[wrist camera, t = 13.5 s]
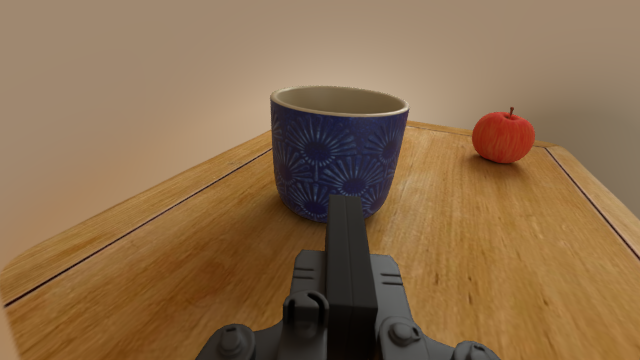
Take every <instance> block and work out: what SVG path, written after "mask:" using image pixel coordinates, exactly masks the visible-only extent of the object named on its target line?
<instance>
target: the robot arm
mask: <svg viewBox="0 0 640 360" xmlns="http://www.w3.org/2000/svg"><path fill="white" fill-rule="evenodd" d="M195 360H501V359H500V358H499V357H498V356H497V355H496V354H495V353H494V352H493V351H492V350H490V349H489V348H487V347H486V346H484V345H482V344H480V343H477V342H474V341H463V342H461V343H458V344H457V346H456V348H453V347H450V346H448V345H445V344H442V343H440V342H437V341H435V340H433V339H431V338H429V337H428V336H426V335H425V334H423V332H422V330H421V328H420V327H419V326H418V325H417V324H416V323H415V322H414V321H413V318H412V315H411V311H410V308H409V304H408V300H407V297H406V293H405V289H404V286H403V282H402V278H401V275H400V271H399V268H398V265H397V263H396V262H395V261H394V260H393V258H392V257H391V256H390V255H377V254H370V253H369V246H368V240H367V234H366V228H365V222H364V216H363V210H362V203H361V197H359V196H346V195H333V194H329V203H328V214H327V226H326V237H325V251H314V250H302V251H301V252H300V253H299V254H298V256H297V257H296V259H295V265H294V271H293V278H292V283H291V289H290V295H289V296H288V297H287V298H286V299H285V302H284V304H283V319H282V320H281V321H280V322H279V323H277V324H276V325H274V326H272V327H270V328H267V329H263V330H259V331H254V332H252V330H251V329H250V328H248V327H247V326H245V325H242V324H230V325H226V326H224V327H222V328H220V329H218V330H217V331H216V332H215V333H214V334H213V335H212V336H211V337H210V338H209V340H208V341H207V343H206V344H205V346H204V347H203V348H202V350H201V351H200V353H199V354H198V356H197V357H196V359H195Z"/></svg>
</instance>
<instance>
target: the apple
mask: <svg viewBox="0 0 640 360" xmlns="http://www.w3.org/2000/svg"><path fill="white" fill-rule="evenodd" d="M510 109H511V111H510V113H507V112H494V113H489V114H487V115H485V116H484V117H482V118H481V119H480V120H479V121H478V122H477V124H476V126H475V127H474V130H473V134H472V142H473V146H474V148H475V150H476V151H477V152H478V153H479V154H480V155H481V156H482V157H484V158H486V159H489V160H492V161H494V162H497V163H511V162H515V161H517V160H520V159H521V158H523V157H524V156H525V155H526V154H527V153H528V152H529V151H530V149H531V148H532V146H533V143H534V140H535V132H534V129H533V126H532V125H531V124H530V123H529V122H528V121H527V120H525V119H523V118H521V117H519V116H516V115H513V114H512V111H513V110H514V108H513V107H511V108H510Z"/></svg>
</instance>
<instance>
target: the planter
mask: <svg viewBox="0 0 640 360" xmlns="http://www.w3.org/2000/svg"><path fill="white" fill-rule="evenodd" d="M270 101H271V126H272V149H273V163H274V174H275V181H276V186H277V190H278V193H279V195H280V197H281V199H282V201H283V202H284V204H285V205H286V206H287V207H288V208H289V209H291V210H292V211H293V212H295V213H297V214H298V215H300V216H302V217H304V218H307V219H310V220H313V221H317V222H322V223H327V214H328V203H329V194H333V195H346V196H359V197H361V203H362V210H363V216H364V219H365V218H367V217H369V216H371V215H373V214H374V213H375V212H376V211H378V210H379V209H380V207H381V206H382V205H383V203H384V201H385V200H386V198H387V195H388V193H389V190H390V187H391V184H392V181H393V177H394V173H395V169H396V166H397V162H398V157H399V153H400V148H401V144H402V140H403V135H404V131H405V126H406V122H407V117H408V113H409V104H408V103H407V102H406V101H404V100H402V99H400V98H398V97H395V96H392V95H389V94H385V93H381V92H376V91H371V90H365V89H357V88H348V87H336V86H299V87H289V88H284V89H280V90H277V91H275V92H273V93H272V94H271V96H270Z"/></svg>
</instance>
